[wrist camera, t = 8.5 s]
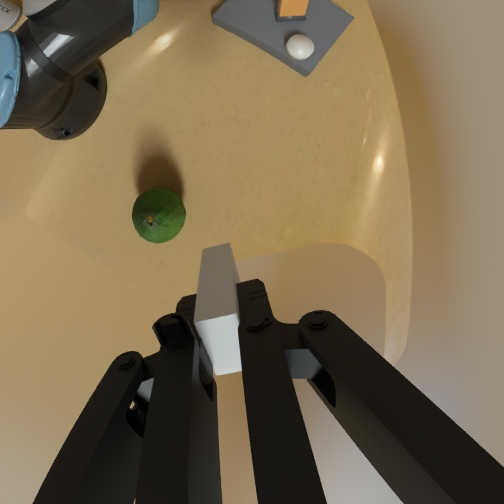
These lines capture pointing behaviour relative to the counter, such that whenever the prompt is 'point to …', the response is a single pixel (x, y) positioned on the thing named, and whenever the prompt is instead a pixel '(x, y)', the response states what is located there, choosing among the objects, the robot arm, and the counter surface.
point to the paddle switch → (291, 10)
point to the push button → (299, 47)
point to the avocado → (158, 215)
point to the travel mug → (9, 15)
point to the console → (284, 28)
